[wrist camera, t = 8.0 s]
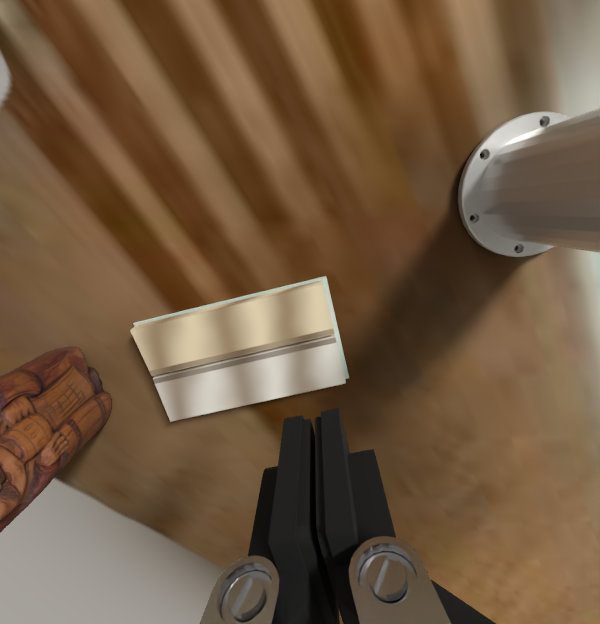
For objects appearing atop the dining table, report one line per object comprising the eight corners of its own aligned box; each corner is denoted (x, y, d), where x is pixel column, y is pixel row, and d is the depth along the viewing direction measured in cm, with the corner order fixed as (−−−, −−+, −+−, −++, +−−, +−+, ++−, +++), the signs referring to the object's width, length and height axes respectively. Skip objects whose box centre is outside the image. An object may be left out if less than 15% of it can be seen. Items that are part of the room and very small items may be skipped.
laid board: (333, 332, 36) (335, 336, 35) (344, 377, 38) (346, 383, 36) (157, 372, 38) (152, 378, 36) (174, 414, 39) (170, 421, 38)
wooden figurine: (127, 426, 40) (-4, 589, 23) (78, 438, 41) (-86, 607, 23) (83, 336, 37) (-109, 446, 20) (29, 350, 37) (-202, 471, 20)
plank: (322, 280, 34) (322, 284, 33) (333, 328, 36) (334, 334, 35) (136, 325, 36) (130, 330, 34) (156, 369, 38) (151, 376, 36)
